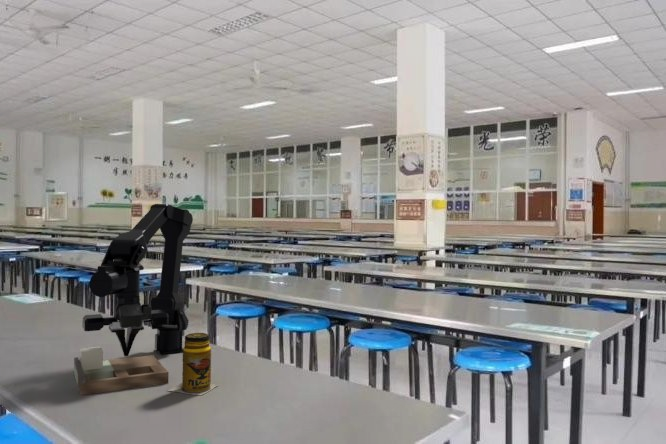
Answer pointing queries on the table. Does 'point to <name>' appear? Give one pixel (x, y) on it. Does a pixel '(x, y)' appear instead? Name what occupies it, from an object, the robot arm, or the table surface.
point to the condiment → (196, 365)
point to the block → (91, 358)
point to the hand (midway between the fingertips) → (126, 355)
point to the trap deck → (120, 374)
